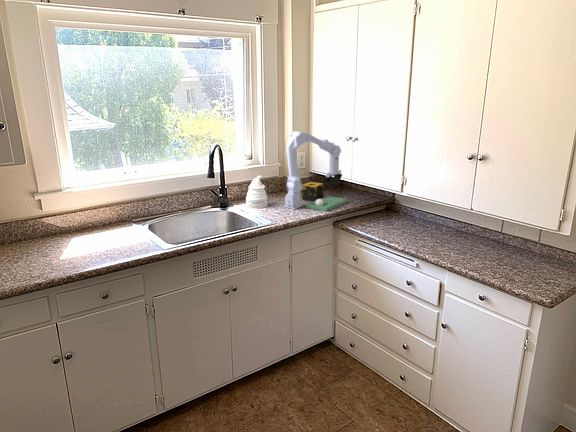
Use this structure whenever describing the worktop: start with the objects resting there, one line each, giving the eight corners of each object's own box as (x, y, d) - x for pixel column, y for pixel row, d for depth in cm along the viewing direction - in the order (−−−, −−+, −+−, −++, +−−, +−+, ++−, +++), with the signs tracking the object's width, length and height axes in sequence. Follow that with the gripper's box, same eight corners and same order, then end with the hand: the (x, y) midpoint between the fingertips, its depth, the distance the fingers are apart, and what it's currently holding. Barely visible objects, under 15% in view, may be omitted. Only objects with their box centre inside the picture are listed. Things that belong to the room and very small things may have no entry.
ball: (324, 198, 250) (325, 204, 254) (317, 196, 253) (319, 201, 257) (319, 204, 248) (320, 210, 252) (312, 201, 251) (314, 207, 255)
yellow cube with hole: (323, 198, 273) (324, 183, 270) (316, 202, 265) (316, 186, 262) (309, 196, 278) (309, 181, 275) (301, 200, 270) (301, 184, 267)
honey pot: (269, 202, 264) (268, 174, 259) (265, 208, 252) (265, 178, 247) (248, 202, 266) (247, 173, 260) (244, 208, 253) (243, 178, 248)
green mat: (326, 211, 245) (326, 208, 245) (306, 207, 253) (306, 204, 253) (346, 202, 264) (346, 199, 263) (327, 198, 272) (327, 195, 271)
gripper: (333, 167, 251) (333, 189, 255) (345, 163, 263) (345, 185, 267) (323, 166, 255) (322, 188, 259) (335, 162, 267) (335, 183, 271)
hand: (333, 186), depth 263 cm, fingers open, 7 cm apart
